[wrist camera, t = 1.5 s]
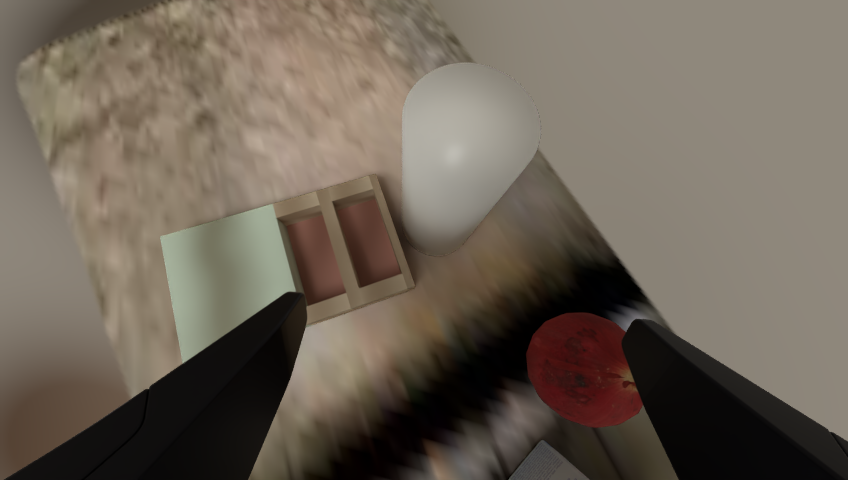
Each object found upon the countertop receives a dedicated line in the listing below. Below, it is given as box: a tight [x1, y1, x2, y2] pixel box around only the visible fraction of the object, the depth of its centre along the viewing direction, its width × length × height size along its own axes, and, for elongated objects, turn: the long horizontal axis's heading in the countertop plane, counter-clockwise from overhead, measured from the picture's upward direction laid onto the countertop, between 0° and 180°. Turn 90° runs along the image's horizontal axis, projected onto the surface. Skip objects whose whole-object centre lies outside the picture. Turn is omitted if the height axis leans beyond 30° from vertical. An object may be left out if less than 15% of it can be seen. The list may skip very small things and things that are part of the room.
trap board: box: [160, 174, 415, 363], centre depth 20 cm, size 14×8×2 cm, turn 110°
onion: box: [526, 313, 643, 428], centre depth 17 cm, size 6×6×8 cm
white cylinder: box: [402, 63, 541, 256], centre depth 17 cm, size 5×5×12 cm
